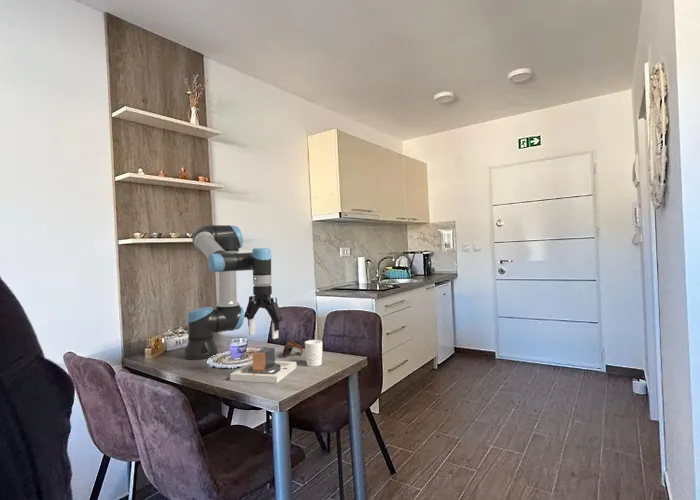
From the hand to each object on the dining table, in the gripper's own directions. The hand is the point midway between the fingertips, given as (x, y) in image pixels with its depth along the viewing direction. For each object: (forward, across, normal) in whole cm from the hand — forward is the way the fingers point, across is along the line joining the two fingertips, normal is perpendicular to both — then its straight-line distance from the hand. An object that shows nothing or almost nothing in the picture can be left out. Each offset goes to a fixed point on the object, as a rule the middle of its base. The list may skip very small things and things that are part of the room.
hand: (263, 336), depth 163 cm
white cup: (+16, +10, +20) cm, 27 cm away
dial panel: (+15, +1, 0) cm, 15 cm away
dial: (+14, +1, 0) cm, 14 cm away
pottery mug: (+16, -10, +27) cm, 33 cm away
